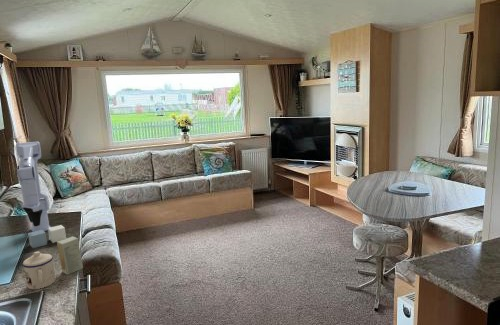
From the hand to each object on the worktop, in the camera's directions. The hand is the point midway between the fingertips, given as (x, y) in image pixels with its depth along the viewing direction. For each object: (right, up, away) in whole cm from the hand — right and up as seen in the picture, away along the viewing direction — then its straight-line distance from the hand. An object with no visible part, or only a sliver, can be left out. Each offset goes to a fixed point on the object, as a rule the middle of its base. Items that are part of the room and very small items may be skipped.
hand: (35, 223), depth 162 cm
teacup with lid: (+23, -16, -35) cm, 45 cm away
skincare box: (+29, -14, -25) cm, 40 cm away
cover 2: (+7, -8, +7) cm, 13 cm away
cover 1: (0, -10, +2) cm, 10 cm away
